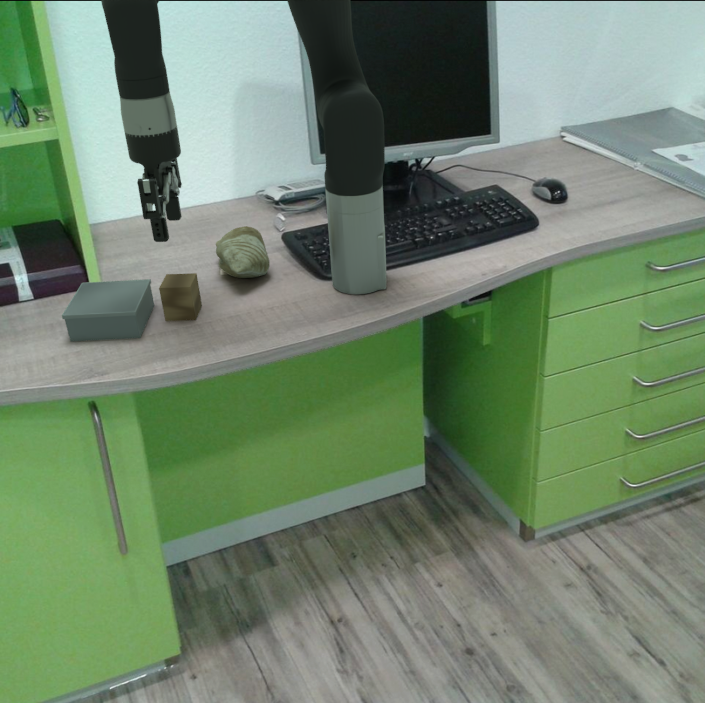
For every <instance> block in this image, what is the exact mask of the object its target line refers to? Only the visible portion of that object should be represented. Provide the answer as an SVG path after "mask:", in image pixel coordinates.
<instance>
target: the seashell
mask: <svg viewBox="0 0 705 703" xmlns="http://www.w3.org/2000/svg"><path fill="white" fill-rule="evenodd" d="M264 241H265V240H264V238H263V236H262V234H261V232H260V230H258V229H256V228H255V227H251V226H240V227H236V228H233V229H232V230H230V231H228V232H227V233H225V234H224V235H223V236H222V237H221V238H220V239H219V240H217V241H216V242H215V246H216V249H215V254H216V256H217V258H219V262H218V267H219V268H220V270H222V271H223V272H224V273H226V274H228V275H229V276H231V277H234V278H236V279H237V278H238V279H250V278H257V277H258V278H259V277H260V276H265V275H266V274H267V273H268V271H269V268H270V258H269V255H268V252H267V249H266V245H265V242H264Z"/></svg>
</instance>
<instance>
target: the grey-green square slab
mask: <svg viewBox="0 0 705 703" xmlns="http://www.w3.org/2000/svg"><path fill="white" fill-rule="evenodd" d="M151 285H152V280H151V278H147V279H129V280H109V281H107V280H106V281H91V282H81V283H80V286H79V287H78V289H77V291H76V292H75V294H74V295H73V297H72V298H71V300H70V301H69V304H68V305H67V307H66V308H65V310H64V312H63V313H62V315H61V318H62V320H64V322H65V326H66V329H67V334H68V337H69V340H70V341H69V342H84V341H85V342H86V340H87V342H88V340H90V341H106V340H108V341H109V340H126V339H128V340H129V339H130V340H131V339H141V337H142V335H143V333H144V331H145V328H146V326H147V323H148V321H149V318H150V317H151V315H152V311H153V310H154V308H155V302H154V297H153V296H154V295H153V293H152V287H151Z"/></svg>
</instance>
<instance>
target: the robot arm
mask: <svg viewBox="0 0 705 703" xmlns="http://www.w3.org/2000/svg"><path fill="white" fill-rule="evenodd" d="M286 1H287V4H288V8H289V10H290V13H291V16H292V18H293V22H294V24H295V26H296V28H297V31H298V34H299V36H300V39H301V42H302V44H303V47H304V50H305V52H306V55H307V58H308V64H309V67H310V68H309V69H310V74H311V77H312V78H311V79H312V84H313V89H314V95H315V104H316V110H317V117H318V121H319V123H320V125H321V127H322V130H323V142H324V156H325V172H324V177H323V178H324V187H325V190H324V191H325V202H326V214H327V215H326V216H327V227H328V239H329V240H328V241H329V255H330V268H331V270H330V271H331V272H330V274H331V280H332V281H331V282H332V286H333V289H334V288H335V290H336V291H338V292H341V293H343V294H349V295H364V294H365V295H366V294H370V293H374V292H377V291H380V290H386V289H387V256H386V255H387V253H386V250H387V249H386V227H385V215H384V214H385V213H384V191H383V190H384V188H383V187H384V186H383V185H384V184H383V183H384V182H383V176H384V171H385V167H386V166H385V165H386V164H385V163H386V162H385V161H386V160H385V158H386V157H385V156H386V153H385V121H384V120H385V118H384V112H383V108H382V105H381V103H380V102H379V99H377V97H376V96H375V95H374V93H373V92H372V91H371V90H370V88H369V86H368V84H367V83H368V82H367V81H366V78H365V75H364V73H363V70H362V67H361V64H360V61H359V57H358V55H357V51H356V47H355V42H354V37H353V36H354V34H353V25H352V23H353V22H352V6H351V0H286ZM158 3H160V0H101V6H102V10H103V13H104V18H105V23H106V25H107V26H106V27H107V30H108V35H109V39H110V43H111V47H112V52H113V55H114V73H115V78H116V80H115V81H116V84H117V90H118V95H119V102H120V115H121V121H122V127H123V130H124V131H123V132H124V135H125V141H126V147H127V151H128V152H127V153H128V156H129V159H130V161H131V162H132V163H136V164H139V165H142V167H143V173H142V176H141V177H142V178H137V182H136V183H137V188H138V193H139V194H138V195H139V198H140V200H139V201H140V204H141V210H142V211H141V212H142V218H143V219H144V220H149V221H150V228H151V232H152V237H153V241H154V242H156V243H165V242H168V241H169V239H170V234H169V227H168V222H167V220H168V221H171V222H172V221H175V222H176V221H180V220H181V218H182V212H181V205H180V198H179V196H180V192H181V190H180V189H181V188H182V187H183V184H182V179H181V174H180V168H179V163H178V158H179V157H180V155H181V154H182V148H181V143H180V136H179V131H178V125H177V118H176V111H175V105H174V102H173V99H172V96H171V91H170V83H169V79H168V73H167V72H168V71H167V68H166V63H165V58H164V55H163V44H162V43H163V42H162V30H161V21H160V20H161V18H160V13H159V7H158ZM153 206H154V207H153ZM153 208H154V209H155V210H154V209H153Z"/></svg>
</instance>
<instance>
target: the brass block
mask: <svg viewBox="0 0 705 703" xmlns="http://www.w3.org/2000/svg"><path fill="white" fill-rule="evenodd" d="M199 285H200V284H199V279H198V273H197V272H194V273H193V272H192V273H191V272H189V273H167V274H165V275H164V278H163V280H162V281H161V283H160V285H159V288H158V290H159V295H160V296H159V297H160V299H161V305H162V309H163V314H164V315H163V317H164V320H165V322H178V321H179V322H180V321H181V322H182V321H183V322H184V321H196V320H198V316H199V314H200V312H201V309H202V307H203V304H202V297H201V292H200V286H199Z"/></svg>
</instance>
